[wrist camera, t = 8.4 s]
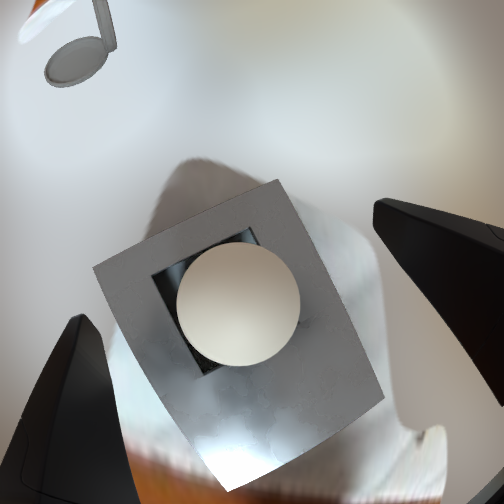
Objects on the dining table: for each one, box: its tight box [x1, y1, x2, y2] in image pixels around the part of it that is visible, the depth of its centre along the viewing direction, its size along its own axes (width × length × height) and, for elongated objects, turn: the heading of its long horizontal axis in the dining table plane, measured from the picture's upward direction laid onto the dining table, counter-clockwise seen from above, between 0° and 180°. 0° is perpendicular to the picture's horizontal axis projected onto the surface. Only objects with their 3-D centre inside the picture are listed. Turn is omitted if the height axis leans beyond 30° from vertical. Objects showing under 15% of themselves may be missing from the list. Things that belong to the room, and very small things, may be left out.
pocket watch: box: [44, 0, 117, 88], centre depth 16 cm, size 8×8×10 cm
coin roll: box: [177, 242, 300, 366], centre depth 15 cm, size 4×4×10 cm
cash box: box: [93, 179, 385, 491], centre depth 18 cm, size 16×12×4 cm
